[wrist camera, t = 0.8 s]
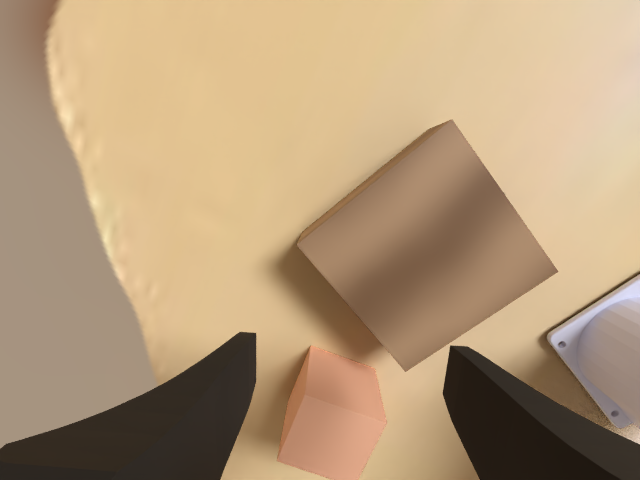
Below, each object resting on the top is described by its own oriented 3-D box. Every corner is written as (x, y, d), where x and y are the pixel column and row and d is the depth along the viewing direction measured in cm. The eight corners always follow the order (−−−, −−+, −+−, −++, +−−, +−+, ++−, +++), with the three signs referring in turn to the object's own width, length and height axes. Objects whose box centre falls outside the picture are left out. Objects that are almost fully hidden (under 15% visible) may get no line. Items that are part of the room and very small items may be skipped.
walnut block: (514, 251, 20) (558, 271, 16) (392, 335, 22) (405, 371, 18) (426, 130, 19) (451, 119, 15) (303, 230, 20) (296, 244, 16)
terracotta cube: (374, 367, 22) (387, 422, 17) (349, 420, 23) (354, 486, 18) (310, 344, 22) (305, 394, 17) (288, 399, 23) (276, 461, 18)
